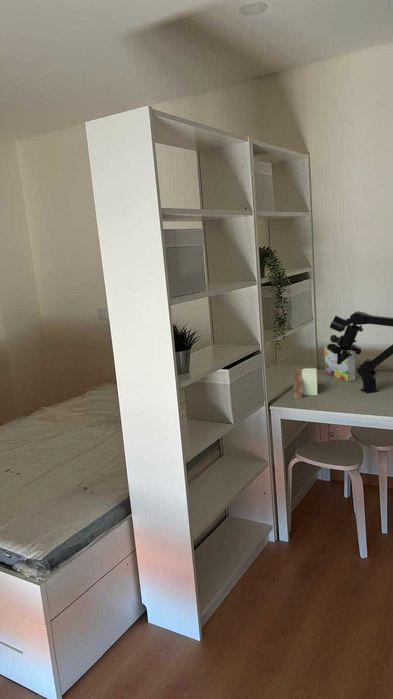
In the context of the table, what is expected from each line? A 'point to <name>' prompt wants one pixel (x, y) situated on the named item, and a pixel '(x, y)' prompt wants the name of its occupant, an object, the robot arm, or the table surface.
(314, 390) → the green block
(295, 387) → the backstop board
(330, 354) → the snack box
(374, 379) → the robot arm
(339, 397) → the table surface
